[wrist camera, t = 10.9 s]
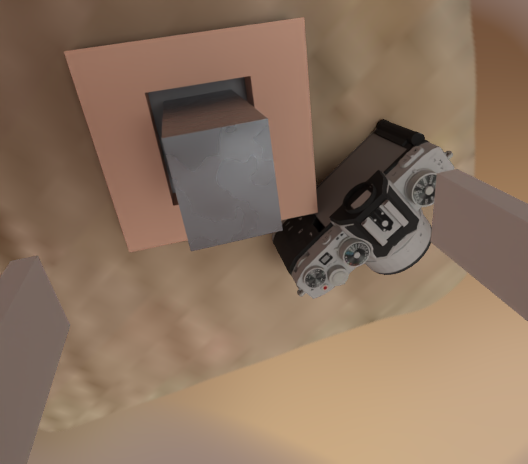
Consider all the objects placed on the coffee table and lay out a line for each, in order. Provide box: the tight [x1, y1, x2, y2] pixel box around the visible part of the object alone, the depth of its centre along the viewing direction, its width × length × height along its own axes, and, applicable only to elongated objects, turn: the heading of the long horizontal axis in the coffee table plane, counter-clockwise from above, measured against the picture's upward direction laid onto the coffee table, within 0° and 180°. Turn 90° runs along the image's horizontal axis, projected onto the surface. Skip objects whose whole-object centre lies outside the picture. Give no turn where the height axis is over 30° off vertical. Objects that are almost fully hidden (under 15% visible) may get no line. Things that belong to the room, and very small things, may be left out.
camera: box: [272, 119, 454, 299], centre depth 32 cm, size 16×9×10 cm, turn 135°
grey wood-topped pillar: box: [162, 89, 283, 251], centre depth 25 cm, size 6×5×12 cm
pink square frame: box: [64, 17, 318, 252], centre depth 30 cm, size 14×15×4 cm
